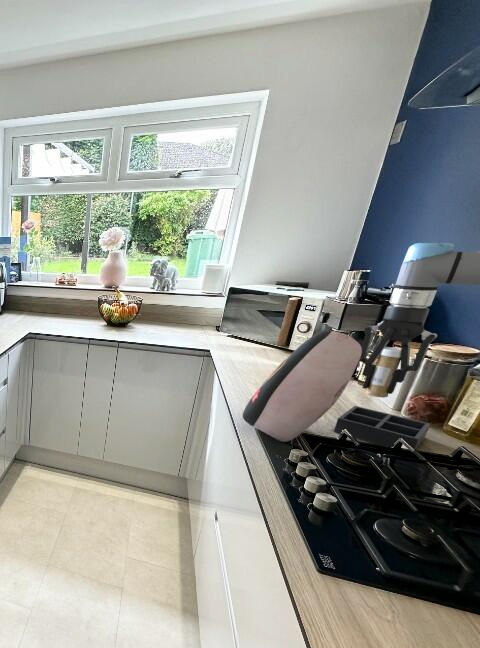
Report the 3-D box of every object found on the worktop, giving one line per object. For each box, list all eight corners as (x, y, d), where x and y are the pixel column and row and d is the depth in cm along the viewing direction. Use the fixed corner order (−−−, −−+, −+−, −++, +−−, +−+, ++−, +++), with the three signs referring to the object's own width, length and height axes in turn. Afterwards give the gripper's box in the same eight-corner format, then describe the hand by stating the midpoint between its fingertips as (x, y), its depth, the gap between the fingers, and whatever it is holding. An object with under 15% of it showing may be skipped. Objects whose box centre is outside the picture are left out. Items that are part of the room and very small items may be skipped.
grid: (424, 439, 108) (430, 423, 107) (411, 455, 100) (418, 439, 98) (349, 419, 120) (354, 405, 118) (333, 432, 112) (338, 418, 110)
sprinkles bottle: (392, 398, 109) (410, 350, 105) (374, 397, 110) (392, 350, 105) (377, 392, 114) (394, 346, 109) (360, 391, 114) (376, 346, 109)
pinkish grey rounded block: (253, 413, 125) (278, 318, 115) (335, 433, 111) (372, 328, 101) (231, 434, 111) (258, 329, 101) (322, 461, 97) (363, 342, 87)
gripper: (359, 303, 108) (333, 384, 116) (457, 311, 94) (420, 402, 102) (367, 300, 112) (341, 379, 120) (462, 308, 98) (426, 396, 106)
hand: (377, 389), depth 111 cm, fingers closed on sprinkles bottle, 4 cm apart
